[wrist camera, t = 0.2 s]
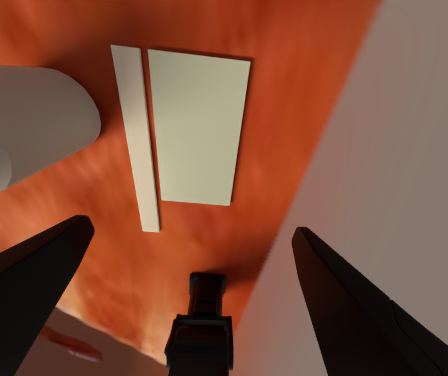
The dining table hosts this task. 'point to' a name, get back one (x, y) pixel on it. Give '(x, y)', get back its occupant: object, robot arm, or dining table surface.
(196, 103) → the pad
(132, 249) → the dining table surface
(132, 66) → the strip
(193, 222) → the dining table surface
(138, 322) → the dining table surface
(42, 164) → the can
